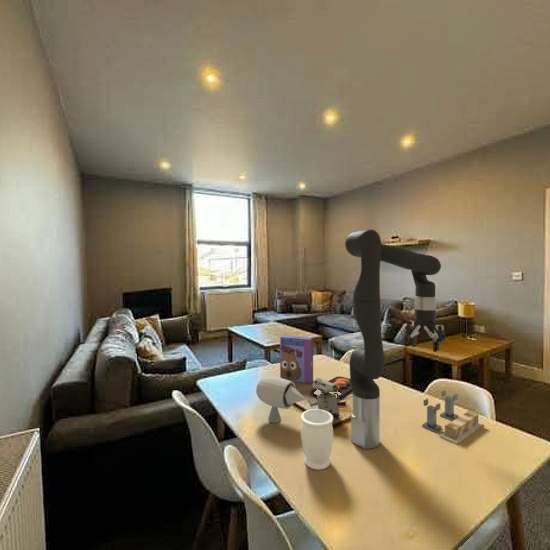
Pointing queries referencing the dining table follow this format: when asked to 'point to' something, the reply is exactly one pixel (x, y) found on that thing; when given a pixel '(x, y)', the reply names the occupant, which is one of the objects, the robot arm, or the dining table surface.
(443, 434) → the felt pad
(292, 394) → the jet engine
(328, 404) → the figurine
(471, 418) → the rail
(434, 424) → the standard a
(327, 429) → the jar
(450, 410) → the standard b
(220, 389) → the dining table surface
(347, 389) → the sushi plate
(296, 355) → the cereal box
